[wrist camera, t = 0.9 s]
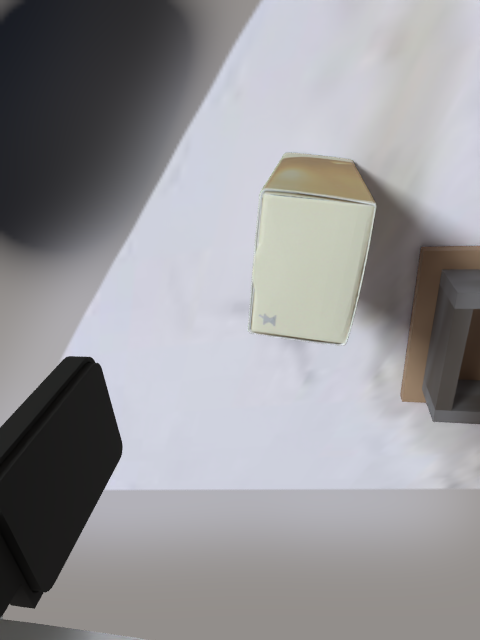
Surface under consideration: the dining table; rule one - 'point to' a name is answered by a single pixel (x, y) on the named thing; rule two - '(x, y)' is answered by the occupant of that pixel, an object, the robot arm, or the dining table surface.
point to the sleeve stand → (445, 335)
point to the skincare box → (310, 249)
